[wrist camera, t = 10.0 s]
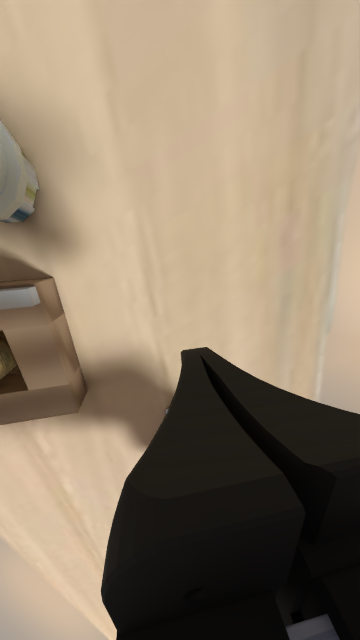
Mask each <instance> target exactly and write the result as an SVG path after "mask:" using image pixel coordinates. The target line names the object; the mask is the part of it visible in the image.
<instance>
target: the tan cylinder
mask: <svg viewBox="0 0 360 640" xmlns="http://www.w3.org/2000/svg"><path fill="white" fill-rule="evenodd" d="M17 365H18V364H17V362H16V360H15V357H14V355H13V353H12V350H11V348H10V346H9V343H8V341H7V339H6V336H5V334H4V332H3V330H0V380H1V379H2V378H3V377H4V376H5V375H6V374H8V373H9V372H10V371H11V370H12V369H13V368H15V367H16V366H17Z"/></svg>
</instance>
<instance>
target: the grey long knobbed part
mask: <svg viewBox="0 0 360 640" xmlns="http://www.w3.org/2000/svg"><path fill="white" fill-rule="evenodd" d="M36 190H39V186H38V182H37V178H36V174H35V170H34V167H33V166H32V165H31V164H30V163H29V161H28V160H27V159H26V157H25V156H24V154H23V153H22V152H21V150H20V146H19V145H18V144H17V142H16V141H15V139H14V138H13V137H12V135H11V134H10V132H9V131H8V130H7V128H6V127H5V125H4V124H3V123H2V121H1V120H0V221H2V222H5V223H10V222H22V221H24V220H25V219H26V218H27V217H28V216H29V215H30V214H31V213H33V212H34V211H35V210H36V209H34V208H33V205H34V200H35V194H36Z"/></svg>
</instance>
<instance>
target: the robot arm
mask: <svg viewBox="0 0 360 640" xmlns="http://www.w3.org/2000/svg"><path fill="white" fill-rule="evenodd" d="M181 361H182V367H181V373H180V378H179V381H178V385H177V389H176V392H175V395H174V397H173V400H172V402H171V405H170V407H169V408H168V409H167V410H166V416H165V418H164V420H163V422H162V424H161V425H160V427H159V429H158V431H157V432H156V434H155V436H154V438H153V439H152V441H151V443H150V445H149V446H148V448H147V449H146V451H145V452H144V454H143V455H142V457H141V458H140V460H139V461H138V462H137V464H136V465H135V467H134V468H133V470H132V471H131V473H130V474H129V475H128V477H127V478H126V480H125V483H124V486H123V489H122V492H121V495H120V498H119V501H118V505H117V508H116V512H115V515H114V519H113V523H112V527H111V531H110V536H109V540H108V545H107V552H106V559H105V566H104V572H103V579H102V586H101V596H102V602H103V604H104V605H105V607H106V609H107V611H108V613H109V615H110V617H111V619H112V621H113V623H114V625H115V627H116V629H117V639H116V640H360V414H357V413H353V412H349V411H345V410H341V409H338V408H335V407H331V406H328V405H325V404H321V403H318V402H315V401H312V400H309V399H306V398H303V397H301V396H298V395H295V394H293V393H290V392H287V391H285V390H282V389H280V388H278V387H275V386H273V385H271V384H269V383H266V382H264V381H262V380H260V379H258V378H256V377H254V376H252V375H250V374H249V373H247V372H245V371H243V370H241V369H240V368H238V367H236V366H235V365H233V364H231V363H230V362H228V361H227V360H225V359H224V358H222V357H221V356H219V355H218V354H216V353H215V352H213V351H212V350H210V349H209V348H207V347H204V348H196V349H189V350H183V351H182V352H181Z"/></svg>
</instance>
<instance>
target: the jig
mask: <svg viewBox="0 0 360 640" xmlns="http://www.w3.org/2000/svg"><path fill="white" fill-rule="evenodd" d="M0 330H3V332H4V334H5V336H6V339H7V341H8V343H9V346H10V348H11V350H12V353H13V355H14V357H15V360H16V362H17V364H18V367H19V369H20V371H21V373H19V374H12V375H5V376H4V377H3V378H2V379H1V380H0V425H4V424H10V423H16V422H23V421H29V420H35V419H41V418H47V417H53V416H60V415H66V414H72V413H78V411H79V408H80V406H81V404H82V402H83V399H84V397H85V395H86V393H87V388H86V384H85V381H84V378H83V374H82V371H81V367H80V364H79V361H78V357H77V354H76V351H75V347H74V344H73V341H72V337H71V334H70V331H69V327H68V324H67V321H66V317H65V314H64V310H63V307H62V304H61V300H60V297H59V294H58V290H57V287H56V284H55V280H54V278H44V279H33V280H21V281H10V282H0Z"/></svg>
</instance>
